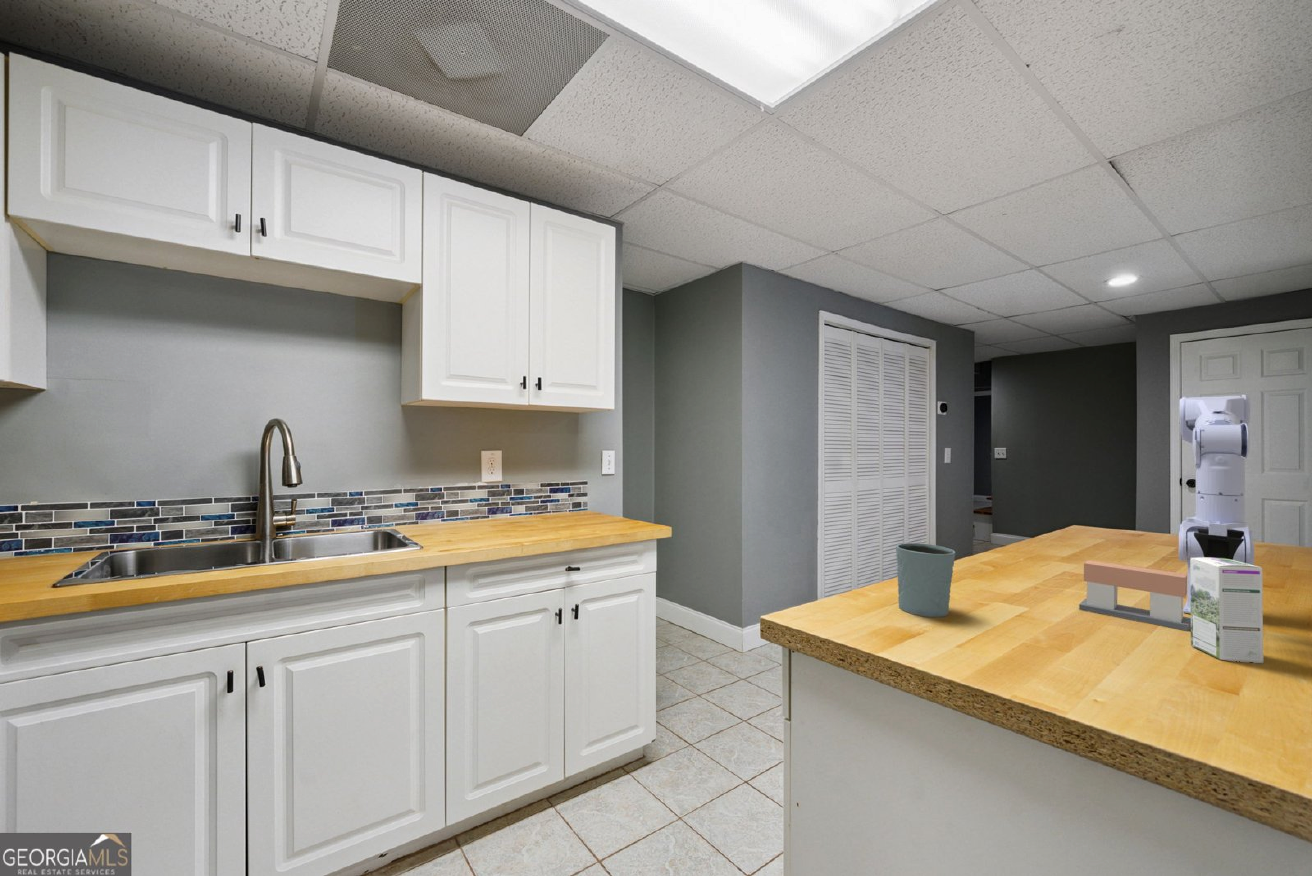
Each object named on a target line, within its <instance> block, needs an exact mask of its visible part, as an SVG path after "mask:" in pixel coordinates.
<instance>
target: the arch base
mask: <svg viewBox="0 0 1312 876" xmlns="http://www.w3.org/2000/svg"><path fill="white" fill-rule="evenodd" d="M1118 588H1119V587H1117V586H1111V585H1105V584H1099V583H1093V582H1087V581H1086V598H1085V599H1083V600H1082V601H1081V602H1080V604H1078V607H1079V608H1078V610H1080V611H1086V612H1089V611H1090V613H1095V614H1099V615H1100V614H1101V615H1106V616H1110V615H1112V616H1111V617H1115V618H1119V619H1126V620H1129V621H1130V620H1131V621H1135V620H1136V622H1140V621H1141V623H1145V622H1147V623H1146V624H1150V625H1156V626H1160V625H1162V626H1161V627H1165V626H1166V628H1171V629H1177V630H1181V631H1185V632H1189V631H1190V630H1191V617H1188V616H1184V612H1183V609H1184V598H1183V597H1177V596H1171V595H1165V594H1159V593H1153V592H1149V593H1150V594H1149V609H1145V608H1139V607H1133V606H1129V605H1123V604H1118V590H1119V589H1118Z"/></svg>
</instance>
